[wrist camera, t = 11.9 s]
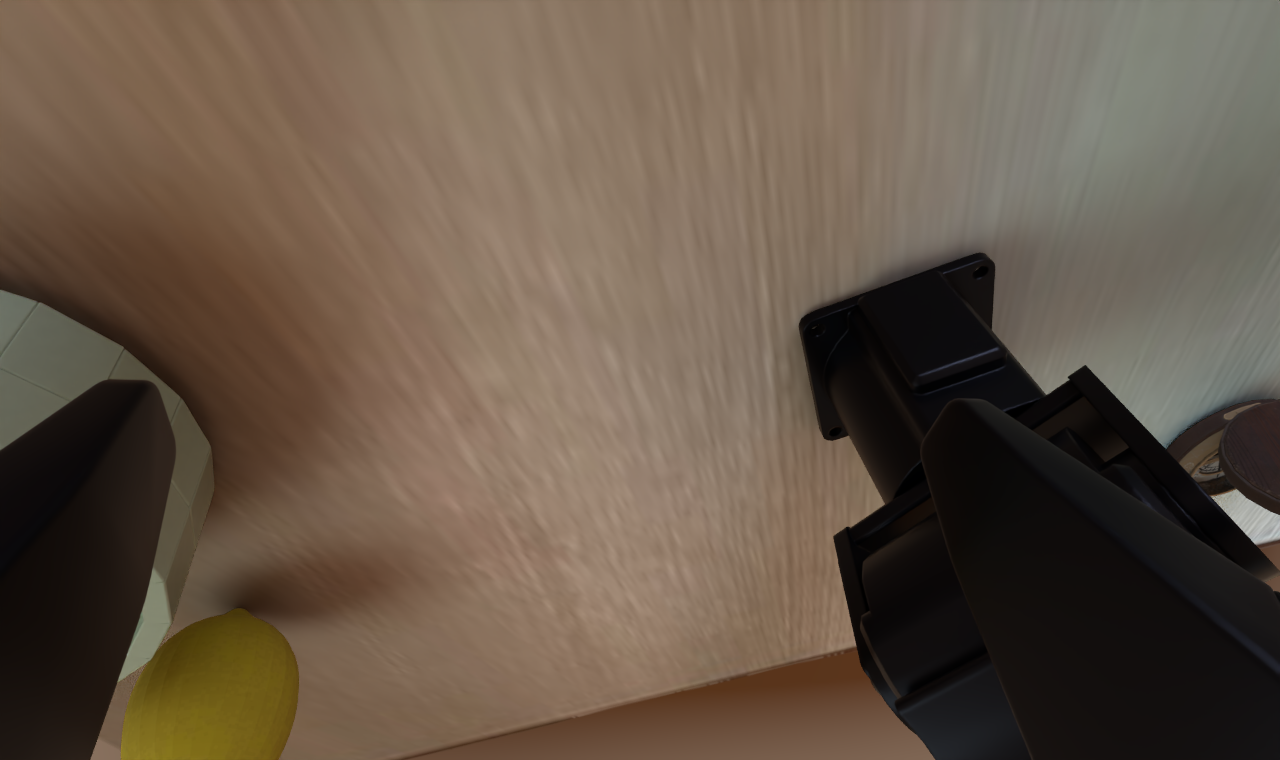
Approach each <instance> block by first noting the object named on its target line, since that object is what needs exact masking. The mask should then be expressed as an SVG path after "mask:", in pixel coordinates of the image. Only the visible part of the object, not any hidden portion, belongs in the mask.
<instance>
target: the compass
mask: <svg viewBox="0 0 1280 760" xmlns="http://www.w3.org/2000/svg"><path fill="white" fill-rule="evenodd" d="M1167 451H1168V452H1169V453H1170V454H1171V455H1172V456H1173V458H1174V459H1175V460H1176V461H1177V462H1178V463H1179V464H1180V465H1181V466H1182V467H1183V468H1184V469H1185V470H1186V471H1187V472H1188V473H1189V474H1190V475H1191V477H1192V478H1193V479H1194V480H1195V481H1196V482H1197V483H1198V484H1199V485H1200V486H1201V487H1202V488H1203V489H1204V490H1205V491H1206V492H1207V494H1208V495H1209V496H1217V495H1221V494H1224V493H1228V492H1231V491H1233V490H1236V489H1237V490H1238V491H1240V492H1241V493H1242V494H1243V495H1244V496H1245V497H1246V498H1248V499H1249V500H1251V501H1253V502H1255V503H1256V504H1258V505H1260V506H1262V507H1263V508H1265V509H1267V510H1269V511H1270V512H1273V513H1276V514H1278V515H1280V399H1279V400H1275V399H1266V400H1252V401H1248V402H1244V403H1240V404H1237V405H1233V406H1231V407H1229V408H1226V409H1224V410H1221V411H1219V412H1217V413H1214V414H1213V415H1211V416H1209V417H1207V418H1206V419H1204V420H1202V421H1200V422H1198V423H1197V424H1195V425H1194V426H1193V427H1191V428H1190V429H1189V430H1187V431H1186V432H1184V433H1183V434H1182V435H1180V436H1179V437H1178V438H1177V439H1176V440H1175V441H1174V442H1173V443H1172V444H1171V445H1170V446H1169V447H1168V448H1167Z"/></svg>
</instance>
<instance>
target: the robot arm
mask: <svg viewBox="0 0 1280 760" xmlns="http://www.w3.org/2000/svg"><path fill="white" fill-rule="evenodd" d="M978 267H979V268H978ZM977 268H978V270H976V269H977ZM975 270H976V271H975ZM994 279H995V264H994V262H993V261H992V260H991V259H990V258H989V257H988V256H987V255H986V254H985V253H976V254H972V255H969V256H967V257H964V258H961V259H958V260H955V261H953V262H950V263H947V264H944V265H941V266H939V267H936V268H933V269H930V270H927V271H925V272H922V273H919V274H916V275H913V276H911V277H908V278H905V279H902V280H900V281H897V282H894V283H891V284H888V285H886V286H883V287H880V288H877V289H874V290H872V291H869V292H866V293H863V294H860V295H858V296H855V297H852V298H849V299H846V300H844V301H841V302H838V303H835V304H832V305H830V306H827V307H824V308H821V309H818V310H816V311H813V312H810V313H809V314H807V315H805V316H804V317H803V318H802V319H801V321H800V323H799V332H800V337H801V341H802V346H803V351H804V356H805V361H806V366H807V371H808V376H809V381H810V385H811V390H812V395H813V400H814V405H815V410H816V415H817V420H818V425H819V429H820V431H821V433H822V435H823V437H824V439H826V440H831V441H833V440H837V439H840V438H843V437H846V436H849V437H850V439H851V440H852V442H853V444H854V446H855V448H856V450H857V452H858V454H859V456H860V457H861V459H862V461H863V463H864V465H865V467H866V469H867V471H868V473H869V475H870V476H871V478H872V480H873V482H874V484H875V486H876V488H877V490H878V492H879V493H880V495H881V497H882V499H883V501H884V503H885V505H884V506H882V507H881V508H879V509H878V510H876V511H875V512H873V513H872V514H870V515H869V516H867V517H866V518H864V519H863V520H862V521H860V522H859V523H857V524H856V525H854V526H853V527H851V528H850V527H846V528H844V529H843V530H842V531H840V532H839V533H837V534H836V535H834V536H833V538H834V543H835V548H836V552H837V557H838V564H839V568H840V573H841V578H842V582H843V587H844V591H845V596H846V600H847V605H848V609H849V614H850V618H851V623H852V627H853V632H854V637H855V641H856V646H857V650H858V655H859V659H860V663H861V666H862V668H863V670H864V672H865V673H866V674H867V675H868V677H869V678H870V680H871V683H872V685H873V686H874V688H875V690H876V691H877V692H878V693H879V694H880V695H881V696H882V697H883V699H884V700H885V702H886V703H887V705H888V706H889V707H890V708H891V710H892V711H893V712H894V713H895V715H896V716H897V717H898V718H899V719H900V720H901V721H902V722H903V723H904V724H905V725H906V726H907V727H908V728H909V729H910V730H911V731H912V732H914V733H915V734H916V735H918V737H919V738H920V739H921V740H922V741H923V743H924V744H925V745H926V747H927V748H928V749H929V751H930V752H931V754H932V755H933V757H934V758H935V760H1280V592H1277V591H1273V590H1272V588H1271V587H1270V586H1269V585H1267V584H1266V583H1265V582H1267V581H1269V580H1271V579H1273V578H1275V577H1277V576H1279V575H1280V571H1279V570H1278V569H1277V568H1276V567H1275V565H1274V564H1273V563H1272V562H1271V561H1270V560H1269V559H1268V558H1267V557H1266V556H1265V555H1264V553H1263V552H1262V551H1261V550H1260V549H1259V548H1258V547H1257V546H1256V545H1255V544H1254V543H1253V542H1252V541H1251V539H1250V538H1249V537H1248V536H1247V535H1246V534H1245V533H1244V532H1243V531H1242V530H1241V529H1240V528H1239V527H1238V526H1237V524H1236V523H1235V522H1234V521H1233V520H1232V519H1231V518H1230V517H1229V516H1228V515H1227V514H1226V513H1225V512H1224V511H1223V509H1222V508H1221V507H1220V506H1219V505H1218V504H1217V503H1216V502H1215V501H1214V500H1213V499H1212V498H1211V497H1210V496H1209V495H1208V494H1207V492H1206V491H1205V490H1204V489H1203V488H1202V487H1201V486H1200V485H1199V484H1198V483H1197V482H1196V481H1195V480H1194V479H1193V478H1192V477H1191V475H1190V474H1189V473H1188V472H1187V471H1186V470H1185V469H1184V468H1183V467H1182V466H1181V465H1180V464H1179V463H1178V462H1177V461H1176V460H1175V459H1174V458H1173V456H1172V455H1171V454H1170V453H1169V452H1168V451H1167V450H1166V449H1165V448H1164V447H1163V446H1162V445H1161V444H1160V443H1159V442H1158V441H1157V440H1156V439H1155V438H1154V436H1153V435H1152V434H1151V433H1150V432H1149V431H1148V430H1147V429H1146V428H1145V427H1144V426H1143V425H1142V424H1141V423H1140V422H1139V421H1138V420H1137V419H1136V418H1135V417H1134V415H1133V414H1132V413H1131V412H1130V411H1129V410H1128V409H1127V408H1126V407H1125V406H1124V405H1123V404H1122V403H1121V402H1120V401H1119V400H1118V399H1117V398H1116V397H1115V396H1114V394H1113V393H1112V392H1111V391H1110V390H1109V389H1108V388H1107V387H1106V386H1105V385H1104V384H1103V383H1102V382H1101V381H1100V380H1099V379H1098V378H1097V377H1096V376H1095V375H1094V373H1093V372H1092V371H1091V370H1090V369H1089V368H1088V367H1087V366H1086V365H1085V366H1083V367H1082V368H1080V369H1079V370H1077V371H1076V372H1074V373H1073V374H1071V375H1070V376H1068V378H1069V379H1070V380H1069V381H1067V382H1066V383H1064V384H1063V385H1061V386H1060V387H1058V388H1057V389H1055V390H1054V391H1052V392H1051V393H1049V394H1048V395H1046V394H1045V393H1044V392H1043V390H1042V389H1041V388H1040V387H1039V386H1038V384H1037V383H1036V382H1035V381H1034V380H1033V379H1032V377H1031V376H1030V375H1029V374H1028V373H1027V371H1026V370H1025V369H1024V368H1023V367H1022V366H1021V364H1020V363H1019V362H1018V361H1017V360H1016V358H1015V357H1014V356H1013V355H1012V354H1011V353H1010V351H1009V350H1008V349H1007V348H1006V347H1005V345H1004V344H1003V343H1002V342H1001V341H1000V340H999V338H998V337H997V336H996V335H995V334H994V332H993V331H992V314H993V296H994ZM818 324H819V325H818ZM815 325H818V327H816V328H814V329H811V328H812V327H813V326H815ZM175 460H176V441H175V437H174V433H173V430H172V427H171V424H170V421H169V418H168V415H167V412H166V409H165V406H164V403H163V400H162V397H161V394H160V391H159V389H158V387H157V386H156V385H155V384H154V383H153V382H151V381H148V380H126V379H109V380H103V381H101V382H99V383H97V384H95V385H94V386H92V387H91V388H89V389H88V390H86V391H85V392H83V393H82V394H81V395H79V396H78V397H76V398H75V399H73V400H72V401H70V402H69V403H68V404H66V405H65V406H63V407H62V408H60V409H59V410H58V411H56V412H55V413H53V414H52V415H50V416H49V417H47V418H46V419H45V420H43V421H42V422H40V423H39V424H37V425H36V426H34V427H33V428H32V429H30V430H29V431H27V432H26V433H24V434H23V435H21V436H20V437H19V438H17V439H16V440H14V441H13V442H11V443H10V444H9V445H7V446H6V447H4V448H3V449H1V450H0V760H90V759H91V756H92V753H93V750H94V747H95V745H96V742H97V739H98V736H99V733H100V730H101V728H102V725H103V722H104V719H105V716H106V713H107V711H108V708H109V705H110V702H111V699H112V696H113V693H114V691H115V688H116V685H117V682H118V679H119V676H120V673H121V671H122V668H123V665H124V662H125V659H126V656H127V654H128V651H129V648H130V645H131V642H132V639H133V636H134V634H135V631H136V628H137V625H138V622H139V619H140V616H141V612H142V609H143V606H144V603H145V600H146V596H147V591H148V587H149V583H150V579H151V574H152V570H153V565H154V560H155V555H156V551H157V546H158V541H159V536H160V532H161V527H162V522H163V517H164V513H165V508H166V503H167V498H168V494H169V489H170V484H171V480H172V475H173V470H174V465H175Z"/></svg>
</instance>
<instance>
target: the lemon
mask: <svg viewBox="0 0 1280 760" xmlns="http://www.w3.org/2000/svg"><path fill="white" fill-rule="evenodd" d="M298 691H299V672H298V665H297V661H296V658H295V655H294V653H293V651H292V649H291V647H290V645H289V643H288V641H287V640H286V638H285V637H284V636H283V635H282V634H281V633H280V632H279V631H278V630H277V629H276V628H275V627H273V626H272V625H270V624H268V623H266V622H265V621H263V620H261V619H258V618H255V617H253V616H252V615H251V614H250V613H249V612H248V611H247V610H245V609H241V608H236V609H233V610H231V611H229V612H228V613H226V614H224V615H219V616H214V617H210V618H206V619H203V620H201V621H198V622H195V623H193V624H191V625H189V626H188V627H186V628H184V629H183V630H181V631H180V632H178V633H177V634H175V635H174V636H173V637H171V638H170V639H169V640H168V641H166V642H165V643H164V644H163V645H162V646H161V647H160V648H159V650H158V651H157V652H156V654H155V655H154V657H153V658H152V660H150V661H149V662H148V664H147V665H146V667H145V668H144V670H143V671H142V673H141V675H140V676H139V678H138V680H137V682H136V684H135V686H134V689H133V691H132V693H131V696H130V699H129V702H128V705H127V709H126V713H125V718H124V723H123V731H122V741H121V760H278V759H279V757H280V755H281V753H282V751H283V749H284V747H285V745H286V742H287V740H288V737H289V735H290V732H291V729H292V726H293V722H294V718H295V714H296V709H297V702H298Z"/></svg>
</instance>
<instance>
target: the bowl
mask: <svg viewBox="0 0 1280 760" xmlns="http://www.w3.org/2000/svg"><path fill="white" fill-rule="evenodd" d="M109 379H126V380H148V381H151V382H153V383H154V384H155V385H156V386H157V387H158V389H159V391H160V394H161V397H162V400H163V403H164V406H165V409H166V412H167V415H168V418H169V421H170V424H171V427H172V430H173V433H174V437H175V441H176V460H175V465H174V470H173V475H172V480H171V484H170V489H169V494H168V498H167V503H166V508H165V513H164V517H163V522H162V527H161V532H160V536H159V541H158V546H157V551H156V555H155V560H154V565H153V570H152V574H151V579H150V583H149V587H148V591H147V596H146V600H145V603H144V606H143V609H142V612H141V616H140V619H139V622H138V625H137V628H136V631H135V634H134V636H133V639H132V642H131V645H130V648H129V651H128V654H127V656H126V659H125V662H124V665H123V668H122V671H121V673H120V676H119V679H118V682H120V681H121V680H122V679H124V678H125V677H127V676H128V675H130V674H131V673H133V672H134V671H136V670H137V669H139V668H140V667H142V666H143V665H145V664H146V663H148V662H149V661H150V660H152V658H153V657H154V655H155V654H156V652H157V650H158V648H159V646H160V645H161V643H162V641H163V639H164V637H165V636H166V634H167V632H168V630H169V628H170V626H171V625H172V622H173V619H174V616H175V613H176V610H177V607H178V604H179V600H180V597H181V594H182V591H183V588H184V585H185V582H186V579H187V575H188V572H189V569H190V566H191V563H192V560H193V557H194V552H195V550H196V547H197V544H198V541H199V538H200V535H201V532H202V528H203V525H204V522H205V519H206V516H207V513H208V510H209V506H210V503H211V500H212V497H213V494H214V490H215V485H214V473H213V460H212V448H211V447H210V444H209V442H208V440H207V439H206V437H205V435H204V434H203V432H202V430H201V429H200V427H199V425H198V424H197V422H196V420H195V419H194V417H193V415H192V414H191V412H190V410H189V409H188V407H187V405H186V404H185V402H184V400H183V399H181V397H180V396H179V395H178V394H177V393H176V392H175V391H173V390H172V389H171V388H170V387H169V386H168V385H167V384H165V383H164V382H163V381H162V380H161V379H160V378H158V377H157V376H156V375H155V374H154V373H153V372H152V371H150V370H149V369H148V368H147V367H146V366H145V365H144V364H142V363H141V362H140V361H139V360H138V359H137V358H135V357H134V356H133V355H132V354H131V353H130V352H129V351H127V350H125V349H124V347H123V346H121V345H119V344H117V343H116V342H114V341H112V340H110V339H108V338H106V337H104V336H103V335H101V334H99V333H97V332H95V331H93V330H91V329H90V328H88V327H86V326H84V325H82V324H80V323H78V322H77V321H75V320H73V319H71V318H69V317H67V316H65V315H64V314H62V313H60V312H58V311H56V310H54V309H52V308H51V307H49V306H47V305H45V304H43V303H41V302H40V303H38V302H37V301H35V300H32V299H29V298H25V297H22V296H19V295H16V294H13V293H10V292H7V291H4V290H1V289H0V450H1V449H3V448H4V447H6V446H7V445H9V444H10V443H11V442H13V441H14V440H16V439H17V438H19V437H20V436H21V435H23V434H24V433H26V432H27V431H29V430H30V429H32V428H33V427H34V426H36V425H37V424H39V423H40V422H42V421H43V420H45V419H46V418H47V417H49V416H50V415H52V414H53V413H55V412H56V411H58V410H59V409H60V408H62V407H63V406H65V405H66V404H68V403H69V402H70V401H72V400H73V399H75V398H76V397H78V396H79V395H81V394H82V393H83V392H85V391H86V390H88V389H89V388H91V387H92V386H94V385H95V384H97V383H99V382H101V381H103V380H109ZM118 682H117V683H118Z"/></svg>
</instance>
